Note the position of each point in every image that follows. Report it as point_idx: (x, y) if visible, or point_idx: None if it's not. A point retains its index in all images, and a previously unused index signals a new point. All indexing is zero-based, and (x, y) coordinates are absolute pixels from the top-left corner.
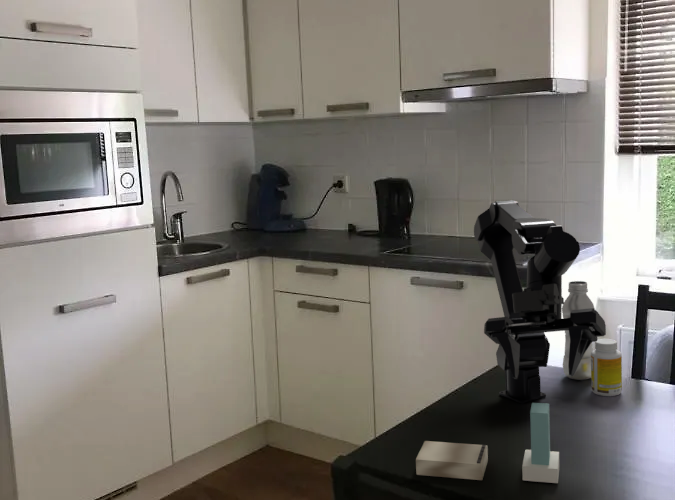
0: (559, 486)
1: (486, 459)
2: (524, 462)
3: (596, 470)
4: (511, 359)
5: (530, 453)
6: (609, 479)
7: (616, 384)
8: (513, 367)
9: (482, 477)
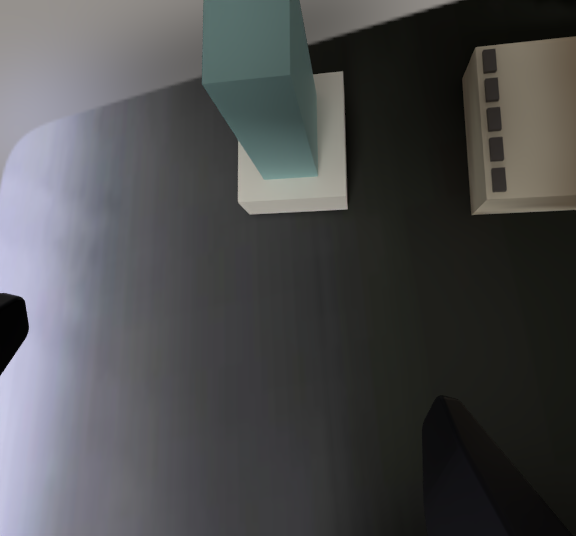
0: None
1: (474, 177)
2: (338, 97)
3: (155, 220)
4: (522, 524)
5: (326, 167)
6: (127, 175)
7: None
8: (472, 448)
9: (463, 84)
